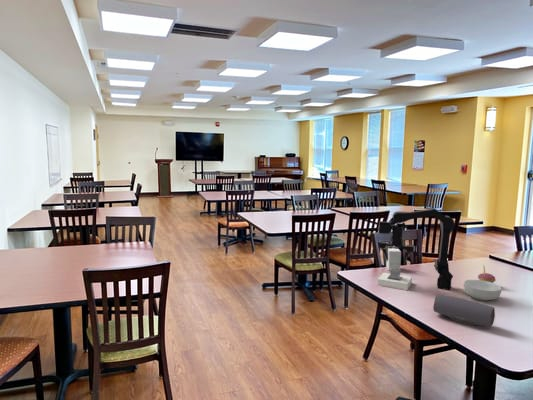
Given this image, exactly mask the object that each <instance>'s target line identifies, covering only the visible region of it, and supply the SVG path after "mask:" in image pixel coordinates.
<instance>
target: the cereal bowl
mask: <svg viewBox="0 0 533 400" xmlns="http://www.w3.org/2000/svg"><path fill="white" fill-rule="evenodd" d="M463 288H464V289H463V290H464V291H465V292H466V293H467V295H469V296H471V297H472V298H473V299H475V300H478V301H483V302H484V301H485V302H487V301H488V302H489V301H490V300H495V299H498V298H499V297H500V296H501V293H502V290H503V289H502V286H500V285H499V284H497V283H495V282H493V283H491V282H487V281H482V280H479V279H467V280H464V283H463Z"/></svg>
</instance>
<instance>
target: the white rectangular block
mask: <svg viewBox="0 0 533 400" xmlns="http://www.w3.org/2000/svg"><path fill="white" fill-rule="evenodd" d="M401 259H402V251H401V249H398V248H388V261H387V260H386V261H385V262H386V269H387V270H388V271H391V270H392V269H397V270H400V271H401V263H402V262H401V261H402V260H401Z"/></svg>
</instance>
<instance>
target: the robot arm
mask: <svg viewBox="0 0 533 400" xmlns="http://www.w3.org/2000/svg"><path fill="white" fill-rule="evenodd" d="M430 217H434V218H436V219H437V220H438V221H439V225H440V231H441V234H440V244H439V251H438V254H439V255H438V258H437V259H434V264H433V267H434V270H435V272H437V273H438V277H437V282H436V286H437V289H440V290H446V291H447V290H448V291H451V290H452V280H453V278H454V275H453V274H452V272H450V267H449V261H448V256H449V247H450V246H449V245H450V237H451V233H452V230H454V229H453V228H454V225H455V220H454V219H453V218H452V217H450V216H449V215H444V214H443V213H441V212H440V211H438V209H436V208H434V207H433V208H429V209H421V210H415V211H395V212H393V214H392V217H391V218H390V219H389V220H388V221H382V220H379V221H378V227H377V228H378V229H377V230H378V231H377V232H378V234H380V235H382V234H385V235H389V234H390V233H391V238H390V242H391V243H389V242H388V241H380V242H379V244H378V249H380V250H382V252H383V254H384V257H385V259H386V262H387V261H388V249H399V250H405V251H404V258H403V263H404V264H405V263H406V261H407V259H408V256H409V254H412V253H414V252H415V250H416V246H415V245H413V244H407V245H404V243H405V239H404V238H403V237H404V228H407V227H408V226H407V224H406V223H405V222H407V221H410V220H415V219H422V218H430Z"/></svg>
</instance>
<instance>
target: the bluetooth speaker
mask: <svg viewBox="0 0 533 400" xmlns="http://www.w3.org/2000/svg"><path fill="white" fill-rule="evenodd" d="M432 307H433V312H434V313H437V314H440V315H443V316H445V317H449V319H450V320H451V321H452V320H453V321H456V322H459V323H462V324H465V325H470V326H476V325H478V326H484V327H488V328H489V327H490V328H492V326H493V324H494V323H495V318H496V313H495V312H496V311H495V307H494V306H491V305H488V304H484V303H481V302H478V301H475V300H469V299H466V298H461V297H458V296H457V297H456V296H451V295H448V294H447V295H446V294H441V293H440V294H439V293H437V294H436V295H435V297H434V302H433V306H432Z"/></svg>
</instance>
